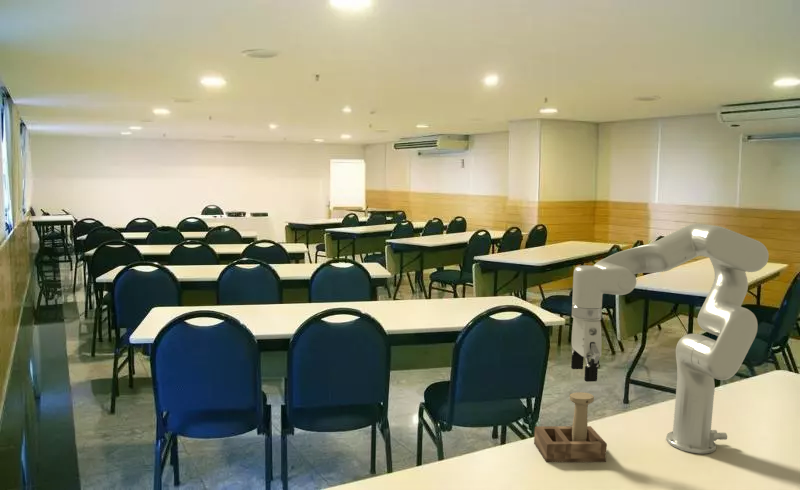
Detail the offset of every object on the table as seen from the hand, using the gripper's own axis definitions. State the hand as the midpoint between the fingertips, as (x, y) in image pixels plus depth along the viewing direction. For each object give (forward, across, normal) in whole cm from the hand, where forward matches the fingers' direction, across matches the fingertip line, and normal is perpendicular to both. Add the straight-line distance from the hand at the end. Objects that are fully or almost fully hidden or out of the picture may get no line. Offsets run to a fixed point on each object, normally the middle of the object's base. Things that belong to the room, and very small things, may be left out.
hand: (583, 374), depth 158 cm
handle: (+21, 0, 0) cm, 21 cm away
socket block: (+22, 0, +3) cm, 22 cm away
